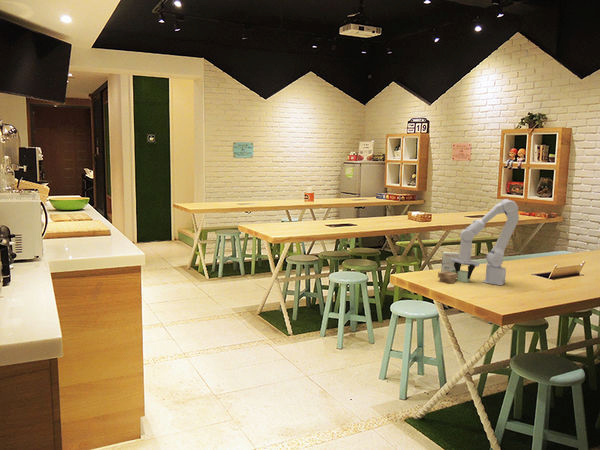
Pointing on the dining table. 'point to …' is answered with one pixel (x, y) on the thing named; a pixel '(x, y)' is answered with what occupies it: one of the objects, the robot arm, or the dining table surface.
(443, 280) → the bottom tile
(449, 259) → the ink box
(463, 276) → the mint block
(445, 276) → the top tile
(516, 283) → the dining table surface
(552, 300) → the dining table surface
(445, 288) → the dining table surface
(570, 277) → the dining table surface
